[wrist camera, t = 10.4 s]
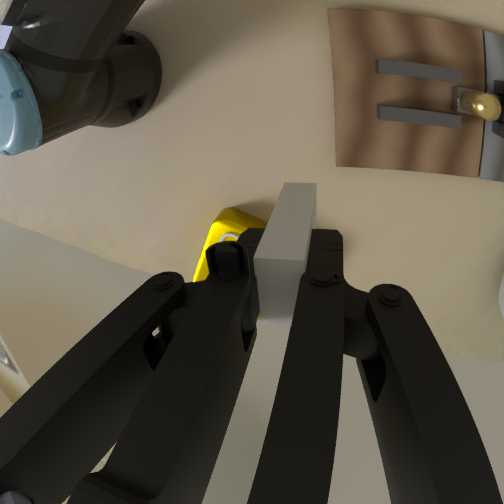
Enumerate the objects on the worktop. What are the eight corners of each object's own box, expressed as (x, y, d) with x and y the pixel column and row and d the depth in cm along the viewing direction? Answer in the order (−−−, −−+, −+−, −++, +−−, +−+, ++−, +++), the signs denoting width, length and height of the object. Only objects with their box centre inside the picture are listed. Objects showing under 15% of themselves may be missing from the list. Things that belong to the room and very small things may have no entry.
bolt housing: (376, 116, 33) (381, 121, 29) (375, 60, 29) (380, 58, 26) (527, 140, 27) (542, 148, 24) (530, 90, 24) (546, 94, 20)
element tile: (198, 273, 55) (188, 290, 51) (224, 201, 46) (213, 215, 42) (276, 309, 55) (271, 328, 51) (316, 244, 46) (314, 262, 43)
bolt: (451, 109, 29) (474, 118, 23) (451, 85, 27) (475, 90, 22) (514, 122, 27) (542, 135, 21) (515, 100, 25) (544, 109, 19)
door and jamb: (335, 162, 39) (336, 166, 37) (327, 11, 28) (327, 8, 27) (516, 180, 32) (523, 185, 30) (524, 46, 22) (531, 46, 20)
